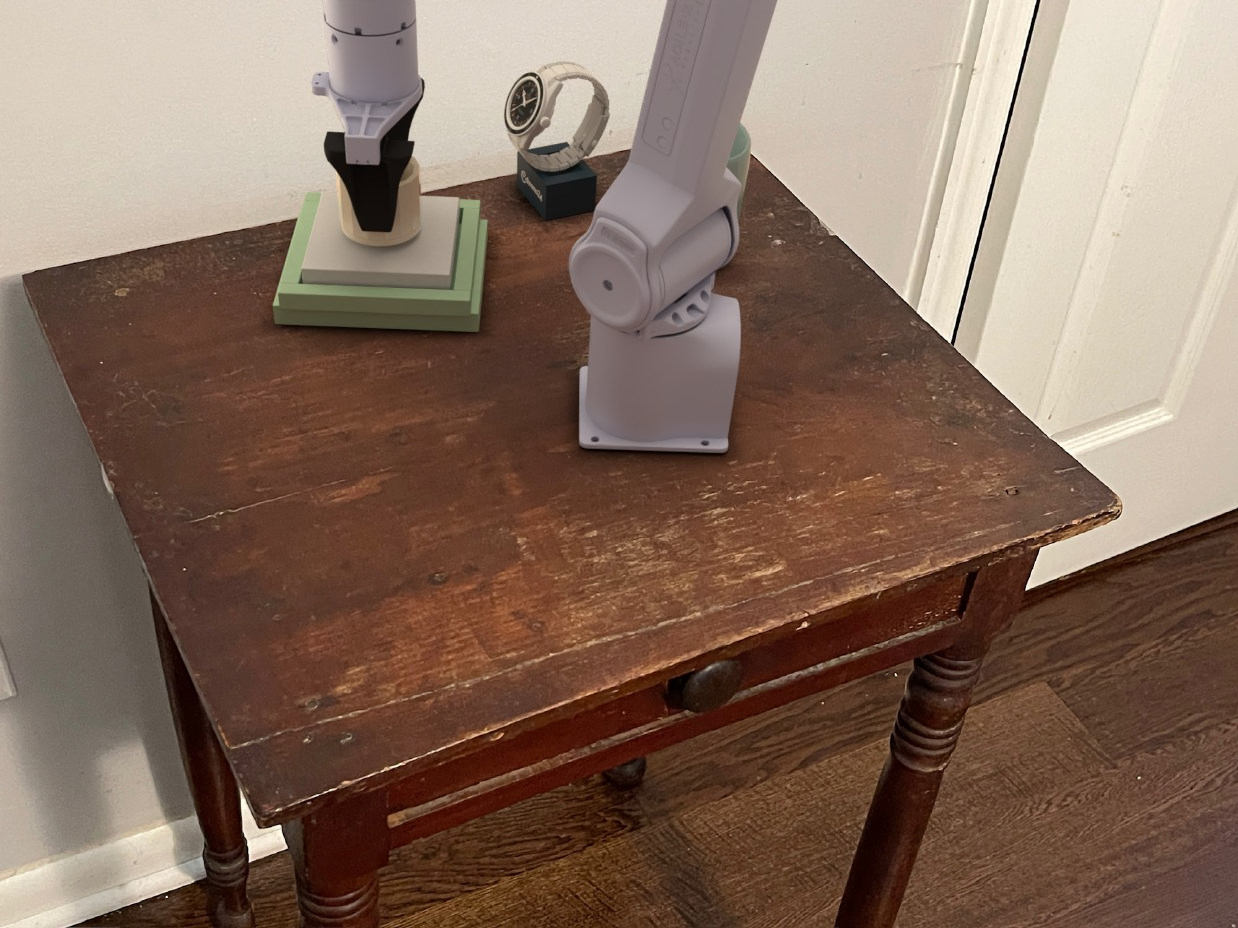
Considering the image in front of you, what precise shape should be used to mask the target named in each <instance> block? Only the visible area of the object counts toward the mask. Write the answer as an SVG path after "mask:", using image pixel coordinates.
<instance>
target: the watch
mask: <svg viewBox="0 0 1238 928" xmlns="http://www.w3.org/2000/svg"><path fill="white" fill-rule="evenodd" d="M576 79H580V80H584V81H588V82H590V83H591V84H592V87H593V95H592V97H591V102H590V103H588V106H587V109H586V111H585V114H584V116H583V118H582V121H581V123H580V125H579V126H578V128H577V130H576V131H575V133H574V134H573V136H572V140H573V141H572V142H571V143H570V144H569V143H568V142H567V141H564V142H559V143H553V144H548V145H543V146H537V147H533V148H532V147H531V145H532V143H533V141H534V139H535V138H537V137H538V136H540V134H542V133H543V132H544V131H545V130H546V129H548V128H550V126H551V124H552V121H551V120H552V118H553V115H554V112H555V106H556V102H557V97H558V96H559V93H561V91H562V90H563V87H564V83H563V82H564V81H567V80H576ZM610 116H611V114H610V98H609V94H608V92H607V90H606V89H605V87H604V85H603V84H602V83H601V82H600V81H599V80H598V79H597V78H596V77H595V76H594V75H593V74H592V73H591V72H590V71H589V70H588V69H587V68H585V67H584V66H583V65H582V64H579V63H575V62H572V61H555V62H550V63H546V64H541V65H539V66H538V67H536V68H535V69H534V70H530V71H527V72H524V73H523V74H521V75H520V76H519V77H518V78H517V79H516V80H515V82H514V83H513V84H512V86H511V88H510V90H509V92H508V94H507V97H506V100H505V104H504V109H503V121H504V126H505V128H506V132H507V136H508V138H509V140H510V142H511V143H512V145H513V147H514V148H515V149H516V150H517V152H516V153H517V154H516V187H517V188H518V189H519V191H520V192H521V193H522V195H524V197H525V198H526V199H527V201H529V203H530V204H531V205H532V207H533V208H534V209H535V211H537V213H538V214H539V216H541V218H542V219H543V220H544V221H546V222H547V221H552V220H557V219H560V218H564V217H570V216H573V215H575V216H576V215H580V214H582V213H583V214H584V213H589V212H595V208H596V202H597V201H596V200H597V199H596V198H597V186H598V185H597V184H598V175H597V173H596V172H595V171H594V170H593V169H592V168H591V167H590V166H589V165H588V163H587V162H586V161H585V160H584V158H585V157H586V158H587V157H588V158H589V156H591V154H592V152H593V151H594V150H595V148H596V147H597V145H598V144H599V142H600V140H601V138H602V136H603V134H604V132H605V130H606V128H607V126H608V122H609V119H610ZM530 147H531V148H530Z"/></svg>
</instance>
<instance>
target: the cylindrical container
mask: <svg viewBox="0 0 1238 928" xmlns="http://www.w3.org/2000/svg"><path fill="white" fill-rule="evenodd" d="M334 172H335V185H336V192H337V196H338V208H339V219H340V222H341V229H342V231H343V233H344V234H345V235H346V236H347V237H348V238H350V239H351V240H353V241H355V242H358V243H361V244H364V245H370V246H390V245H396V244H400V243H403V242H405V241H408V240H410V239H411V238H413V237H414V236H415V235H416V234H417V233H418V232H419V230H420V229H421V225H422V221H421V218H422V206H421V196H422V183H421V166H420V164H419V162H418V160H417V159H416V157H414V156H413V155H412V157H411V159H410V161H409V163H408V165H407V167H406V169H405V171H404V173H403V175H402V177H401V180H400V184H399V190H398V199H397V208H396V215H395V220H394V225H393V228H392V231H391V232H389V233H388V232H365V231H362V230H361V228H360V226H359V224H358V221H357V219H356V216H355V213H354V210H353V207H352V204H351V201H350V198H349V195H348V192H347V190H346V187H345V185H344V183H343V181H342V180H341V178H340V176H339V175H338V173H337V172H336V170H335V169H334Z"/></svg>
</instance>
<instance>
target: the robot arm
mask: <svg viewBox="0 0 1238 928" xmlns="http://www.w3.org/2000/svg"><path fill="white" fill-rule="evenodd" d="M321 1H322V13H323V22H324V34H325V44H326V57H327V68H328V70H327V71H318V72H315V73H313V75H312V77H311V81H310V88H311V93H312V95H315V96H321V97H326V98H328V100H329V102H330V103H331V105H332V108H333V110H334V112H335V114H336V116H337V119H338V120H339V123H340V125H341V126H342V129H343V131H326V134H325V137H324V141H323V152H324V155H325V158H326V161H327V162H328V163H329V164H330V166H331V167H332V168H333V170H334V171H335V170H336V172H337V173H338V175H339V176H340V178H341V180H342V181H343V183H344V185H345V187H346V190H347V192H348V195H349V198H350V201H351V204H352V207H353V210H354V213H355V216H356V219H357V221H358V224H359V226H360V228H361V230H362V231H365V232H388V233H389V232H391V231H392V228H393V225H394V220H395V215H396V208H397V199H398V190H399V184H400V180H401V177H402V175H403V173H404V171H405V169H406V167H407V165H408V163H409V161H410V159H411V157H412V156H413V153H414V149H415V144H416V141H414V140H409V136H410V131H411V128H412V124H413V120H414V117H415V116H416V112H417V110H418V109H419V108H418V107H419V106H420V104H421V102H422V100H423V98H424V95H425V90H426V89H425V88H426V86H425V85H426V84H425V79H423V78H422V77H421V76H420V74H419V60H418V59H419V56H418V55H419V53H418V30H417V29H418V28H417V8H416V7H417V6H416V3H417V2H416V0H321ZM777 3H778V0H666V3H665V8H664V11H663V14H662V15H663V16H662V19H661V23H660V28H659V31H658V37H657V40H656V45H655V49H654V53H653V57H652V61H651V65H650V70H649V74H648V77H647V82H646V86H645V89H644V94H643V99H642V103H641V107H640V110H639V115H638V119H637V124H636V128H635V132H634V136H633V140H632V144H631V147H630V148H631V149H630V153H629V157H628V160H627V163H626V164H625V165H624V167H623V168H622V170H621V171H620V173H619V174H618V175H617V177H616V178H615V179H614V181H613V182H612V184H611V185H610V186H609V187H608V189H607V190H606V192H605V193H604V194H603V195H602V197H601V199H600V200H599V202H598V203H597V205H595V210H594V211H593V215H592V220H591V222H590V223H591V224H590V226H589V227H588V229H587V231H586V232H585V233H584V234H583V235H581V236H580V237H579V238H578V239H577V240H576V241H575V242H574V244H573V246H572V248H571V250H570V254H569V258H568V272H569V273H568V274H569V277H570V282H571V285H572V288H573V290H574V293H575V294H576V296H577V298H578V300H579V301H580V303H581V304H582V306H583V307H584V308H585V309H586V310H585V311H586V313H587V314H588V315H589V316H590V328H589V341H588V357H587V365H583V366H581V367H580V368H579V373H578V375H579V378H578V379H579V381H578V383H579V386H578V388H579V389H578V392H579V394H578V399H579V400H578V401H579V402H578V403H579V404H578V413H579V414H578V443H579V446H580V447H581V448H584V449H592V450H593V449H594V450H623V451H625V450H626V451H648V452H649V451H651V452H675V453H676V452H678V453H682V452H683V453H709V454H712V453H713V454H723V453H724V454H725V453H727V451H728V449H729V439H728V438H729V431H730V426H731V419H732V412H733V406H734V399H735V394H736V387H737V382H738V381H737V380H738V374H739V366H740V357H741V345H742V344H741V341H742V340H741V339H742V336H741V335H742V323H741V321H742V320H741V311H740V310H741V309H740V303H739V300H738V298H735V297H732V296H731V297H730V296H726V295H722V294H719V293H718V294H717V293H714V292H712V291H713V290H714V288H715V280H716V272H717V270H719V269H722V268H723V267H725V266H726V265H728V264H729V263H730V262H731V261H732V259H733V258H734V256H735V254H736V253H737V250H738V247H739V243H740V227H739V226H740V225H739V224H738V220H737V201H738V197H739V194H740V191H741V187H742V185H741V183H740V181H739V180H738V179H737V178H736V177H735V176H734V175H733V174H732V172H731V171H730V170H729V169H728V168H727V163H728V160H729V157H730V154H731V150H732V147H733V144H734V141H735V137H736V134H737V131H738V128H739V124H740V123H741V121H742V118H743V114H744V111H745V107H746V105H747V101H748V98H749V95H750V91H751V88H752V85H753V82H754V78H755V75H756V72H757V70H758V69H757V68H758V66H759V62H760V59H761V56H762V52H763V49H764V46H765V43H766V40H767V36H768V33H769V30H770V26H771V23H772V20H773V17H774V14H775V11H776V6H777Z"/></svg>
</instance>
